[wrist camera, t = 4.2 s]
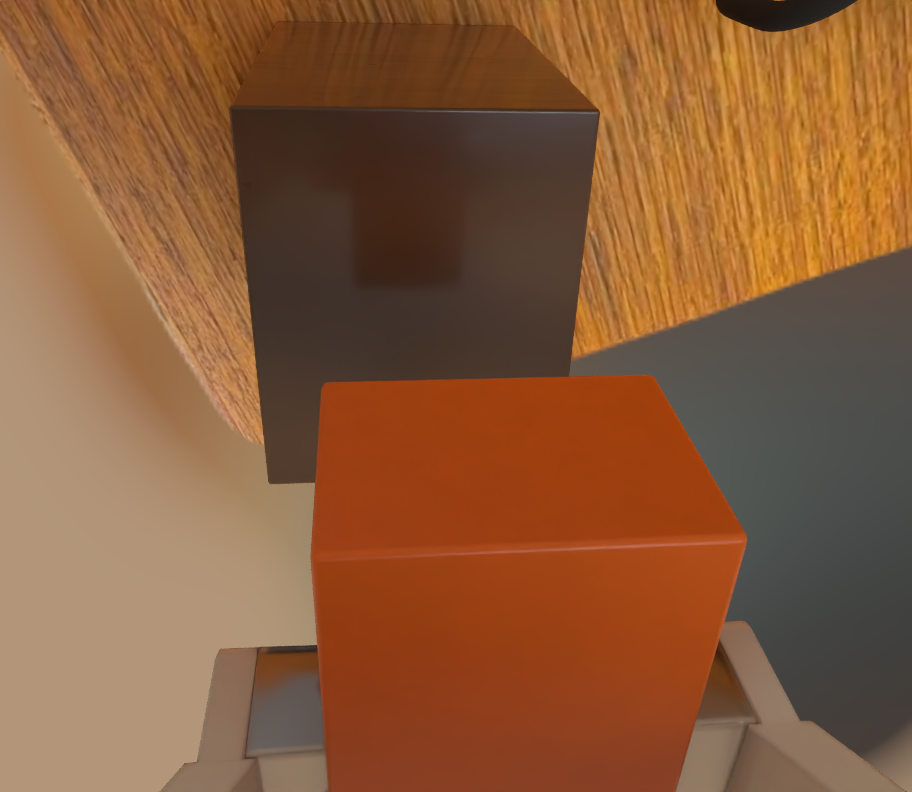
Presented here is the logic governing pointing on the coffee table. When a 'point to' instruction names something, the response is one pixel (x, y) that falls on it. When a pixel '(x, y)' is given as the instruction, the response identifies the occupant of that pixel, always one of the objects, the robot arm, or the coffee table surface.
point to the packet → (514, 584)
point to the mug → (780, 12)
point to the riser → (405, 213)
